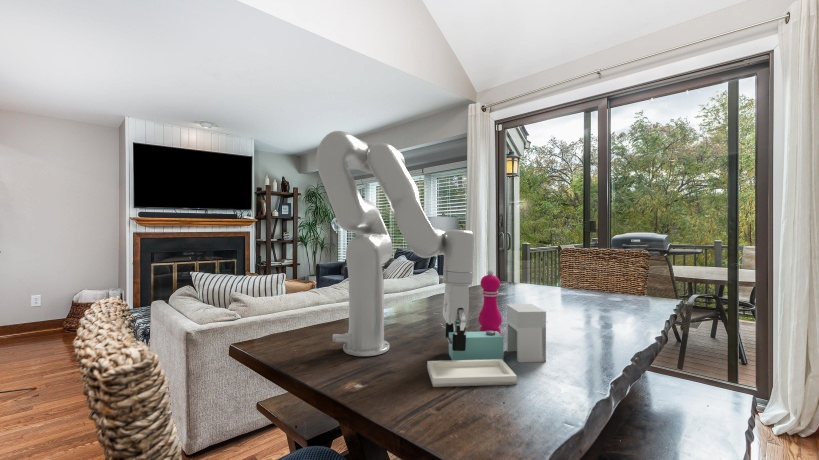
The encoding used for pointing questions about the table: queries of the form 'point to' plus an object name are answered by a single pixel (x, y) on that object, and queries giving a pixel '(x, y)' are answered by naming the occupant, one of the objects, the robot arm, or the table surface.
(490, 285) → the pepper mill
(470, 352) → the mint rectangular box
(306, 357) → the table surface
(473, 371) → the tray
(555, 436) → the table surface
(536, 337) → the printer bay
